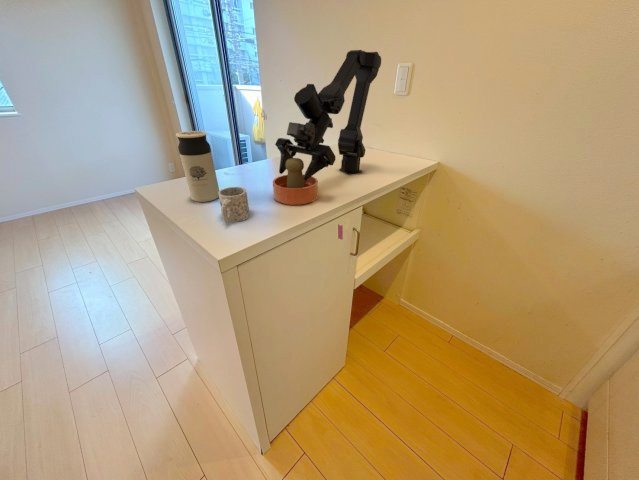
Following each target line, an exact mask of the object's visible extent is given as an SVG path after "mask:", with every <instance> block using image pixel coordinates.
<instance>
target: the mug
mask: <svg viewBox="0 0 639 480" xmlns="http://www.w3.org/2000/svg"><path fill="white" fill-rule="evenodd" d="M218 194H219V197H218V199H219V204H220V208H221V209H220V211H221V216H222V220H223V223H225V224H228V223H230V222H233V223H235V222H241V221H245V220H247V219H248V218H249V217H250V215H251V212H250V207H249V200H248V192H247V189H246V188H245V187H241V186H228V187H225V188H222V189H219V192H218Z"/></svg>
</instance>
